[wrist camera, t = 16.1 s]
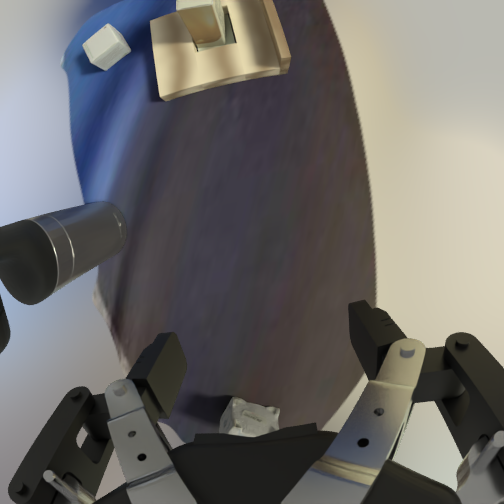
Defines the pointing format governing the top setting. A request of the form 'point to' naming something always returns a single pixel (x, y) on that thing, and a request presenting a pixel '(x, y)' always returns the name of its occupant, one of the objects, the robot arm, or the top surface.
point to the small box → (106, 47)
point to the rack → (219, 50)
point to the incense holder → (248, 419)
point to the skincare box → (203, 21)
